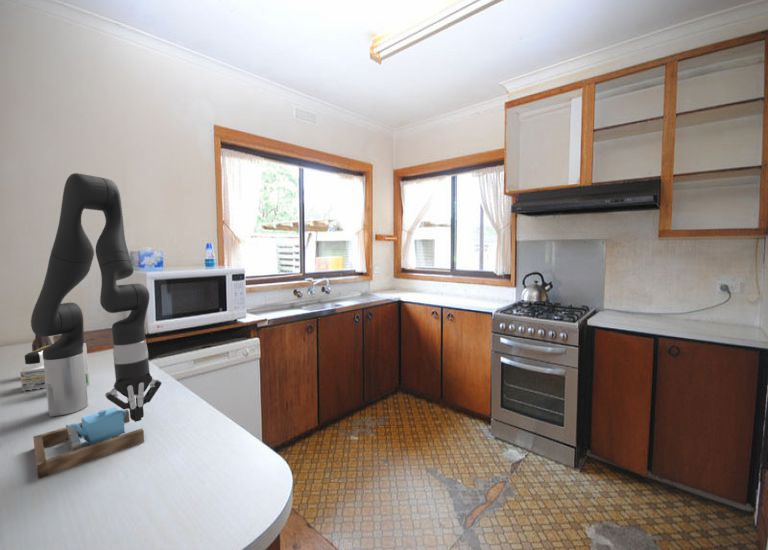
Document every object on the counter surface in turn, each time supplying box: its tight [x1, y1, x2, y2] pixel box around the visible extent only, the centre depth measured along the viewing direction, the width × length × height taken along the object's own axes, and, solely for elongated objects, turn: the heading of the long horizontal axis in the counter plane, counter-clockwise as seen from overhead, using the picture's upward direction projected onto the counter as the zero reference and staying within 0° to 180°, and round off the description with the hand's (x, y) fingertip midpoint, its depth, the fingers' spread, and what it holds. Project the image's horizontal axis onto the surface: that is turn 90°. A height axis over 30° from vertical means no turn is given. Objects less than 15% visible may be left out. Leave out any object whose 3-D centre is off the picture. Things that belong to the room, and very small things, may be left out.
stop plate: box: [65, 423, 82, 452], centre depth 88 cm, size 2×13×4 cm, turn 46°
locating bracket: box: [32, 409, 145, 480], centre depth 90 cm, size 20×18×3 cm
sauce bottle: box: [31, 333, 53, 352], centre depth 145 cm, size 7×6×20 cm
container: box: [19, 350, 46, 392], centre depth 132 cm, size 8×8×13 cm
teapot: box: [68, 407, 126, 446], centre depth 92 cm, size 12×6×8 cm, turn 144°
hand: (137, 420), depth 98 cm, fingers closed
